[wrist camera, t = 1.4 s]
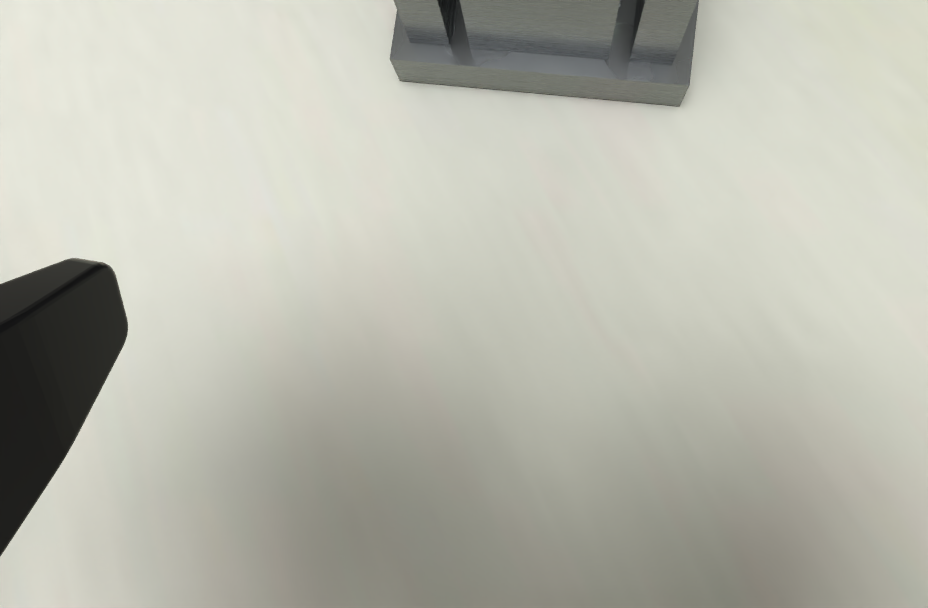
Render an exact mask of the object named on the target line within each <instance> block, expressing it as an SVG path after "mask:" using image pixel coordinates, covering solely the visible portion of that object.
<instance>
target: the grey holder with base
mask: <svg viewBox="0 0 928 608" xmlns="http://www.w3.org/2000/svg"><path fill="white" fill-rule="evenodd" d="M394 2H395V5H396V8H397V14H396V21H395V28H394V35H393V41H392V48H391V55H390V61H391V63H392V65H393V67H394V69H395V71H396V73H397V75H398V77H399V80H400V81H409V82H420V83H431V84H442V85H453V86H464V87H475V88H486V89H496V90H507V91H518V92H529V93H540V94H551V95H562V96H573V97H584V98H595V99H606V100H617V101H628V102H639V103H650V104H661V105H672V106H680V104H681V102H682V100H683V97H684V95H685V93H686V91H687V89H688V87H689V83H690V74H691V65H692V56H693V47H694V38H695V29H696V20H697V11H698V2H699V0H622V2H621V7H620V6H619V3H620V0H394Z"/></svg>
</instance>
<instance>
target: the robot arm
mask: <svg viewBox="0 0 928 608" xmlns="http://www.w3.org/2000/svg"><path fill="white" fill-rule="evenodd" d="M127 332H128V322H127V317H126V313H125V309H124V305H123V302H122V298H121V294H120V290H119V286H118V282H117V278H116V275H115V272H114V271H113V269H112V268H111V267H110V266H109V265H107V264H105V263H103V262H97V261H91V260H85V259H79V258H71V259H67V260H64V261H61V262H59V263H56V264H53V265H51V266H48V267H45V268H42V269H40V270H37V271H34V272H32V273H29V274H26V275H24V276H21V277H18V278H15V279H13V280H10V281H7V282H5V283H2V284H0V556H1V555H2V553H3V552H4V550H5V549H6V547H7V546H8V544H9V543H10V541H11V540H12V538H13V537H14V535H15V534H16V532H17V530H18V529H19V527H20V526H21V524H22V523H23V521H24V520H25V518H26V517H27V515H28V514H29V512H30V511H31V509H32V508H33V506H34V505H35V503H36V502H37V500H38V499H39V497H40V496H41V494H42V493H43V491H44V489H45V488H46V486H47V485H48V483H49V482H50V480H51V479H52V477H53V476H54V474H55V473H56V471H57V469H58V468H59V466H60V465H61V463H62V461H63V460H64V458H65V457H66V455H67V453H68V451H69V449H70V448H71V446H72V444H73V442H74V441H75V439H76V437H77V435H78V433H79V431H80V429H81V427H82V425H83V423H84V421H85V419H86V418H87V416H88V414H89V412H90V410H91V408H92V406H93V404H94V402H95V400H96V398H97V396H98V394H99V392H100V390H101V388H102V386H103V384H104V383H105V381H106V379H107V377H108V375H109V373H110V371H111V369H112V367H113V365H114V363H115V361H116V359H117V357H118V355H119V353H120V351H121V349H122V347H123V345H124V343H125V340H126V337H127Z"/></svg>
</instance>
